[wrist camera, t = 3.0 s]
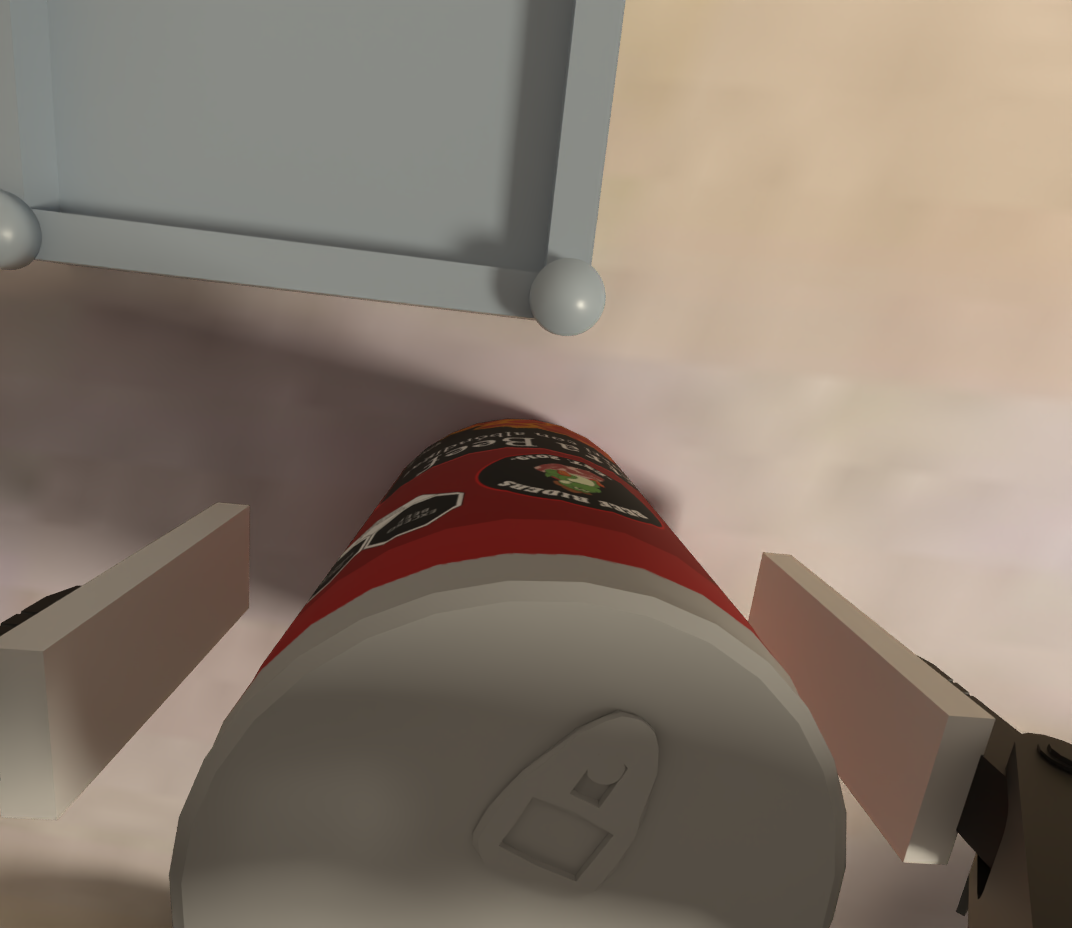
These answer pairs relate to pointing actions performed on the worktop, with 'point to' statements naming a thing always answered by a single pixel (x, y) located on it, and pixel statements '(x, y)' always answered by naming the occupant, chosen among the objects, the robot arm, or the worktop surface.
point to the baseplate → (316, 146)
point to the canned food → (514, 725)
